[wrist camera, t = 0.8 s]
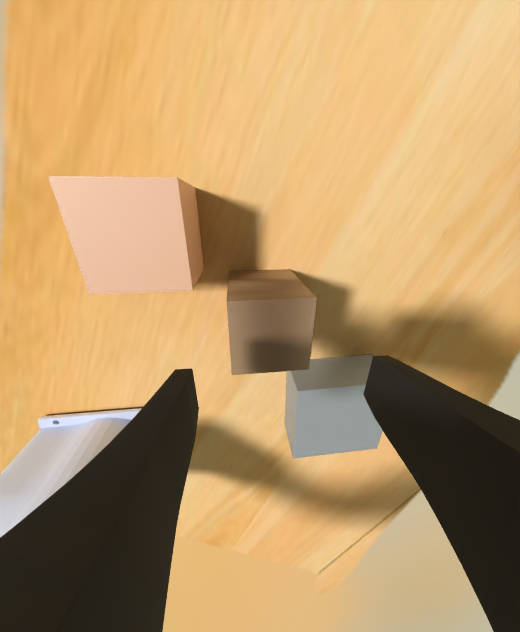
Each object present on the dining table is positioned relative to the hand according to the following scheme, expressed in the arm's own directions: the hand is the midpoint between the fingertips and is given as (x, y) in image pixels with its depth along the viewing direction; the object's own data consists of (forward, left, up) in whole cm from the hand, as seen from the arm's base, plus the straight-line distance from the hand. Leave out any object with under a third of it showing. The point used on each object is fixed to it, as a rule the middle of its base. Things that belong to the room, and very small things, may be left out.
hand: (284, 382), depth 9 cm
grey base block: (+6, -10, -10) cm, 15 cm away
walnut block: (0, 0, -9) cm, 9 cm away
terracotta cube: (-7, +5, -9) cm, 12 cm away
